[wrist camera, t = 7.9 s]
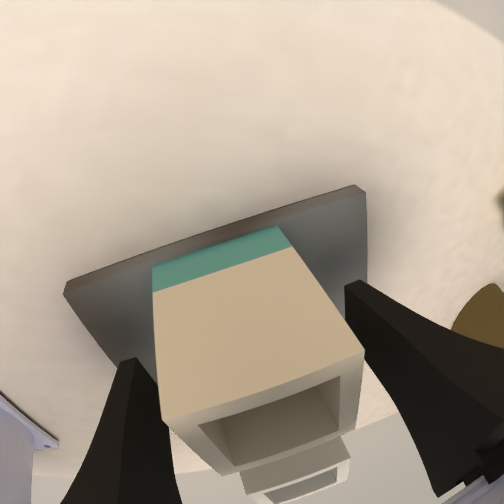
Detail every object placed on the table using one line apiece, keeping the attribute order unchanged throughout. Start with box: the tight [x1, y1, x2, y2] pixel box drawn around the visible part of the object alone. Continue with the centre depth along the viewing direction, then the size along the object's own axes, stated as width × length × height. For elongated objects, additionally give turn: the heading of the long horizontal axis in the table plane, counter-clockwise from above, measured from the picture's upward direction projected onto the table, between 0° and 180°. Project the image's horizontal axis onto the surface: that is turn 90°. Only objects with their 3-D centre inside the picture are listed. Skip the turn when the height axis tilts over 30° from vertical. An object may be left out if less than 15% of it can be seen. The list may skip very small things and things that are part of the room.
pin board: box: [63, 185, 367, 385], centre depth 14 cm, size 12×13×4 cm
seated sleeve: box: [239, 436, 351, 504], centre depth 15 cm, size 5×5×6 cm
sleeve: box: [152, 225, 365, 476], centre depth 10 cm, size 5×5×6 cm
